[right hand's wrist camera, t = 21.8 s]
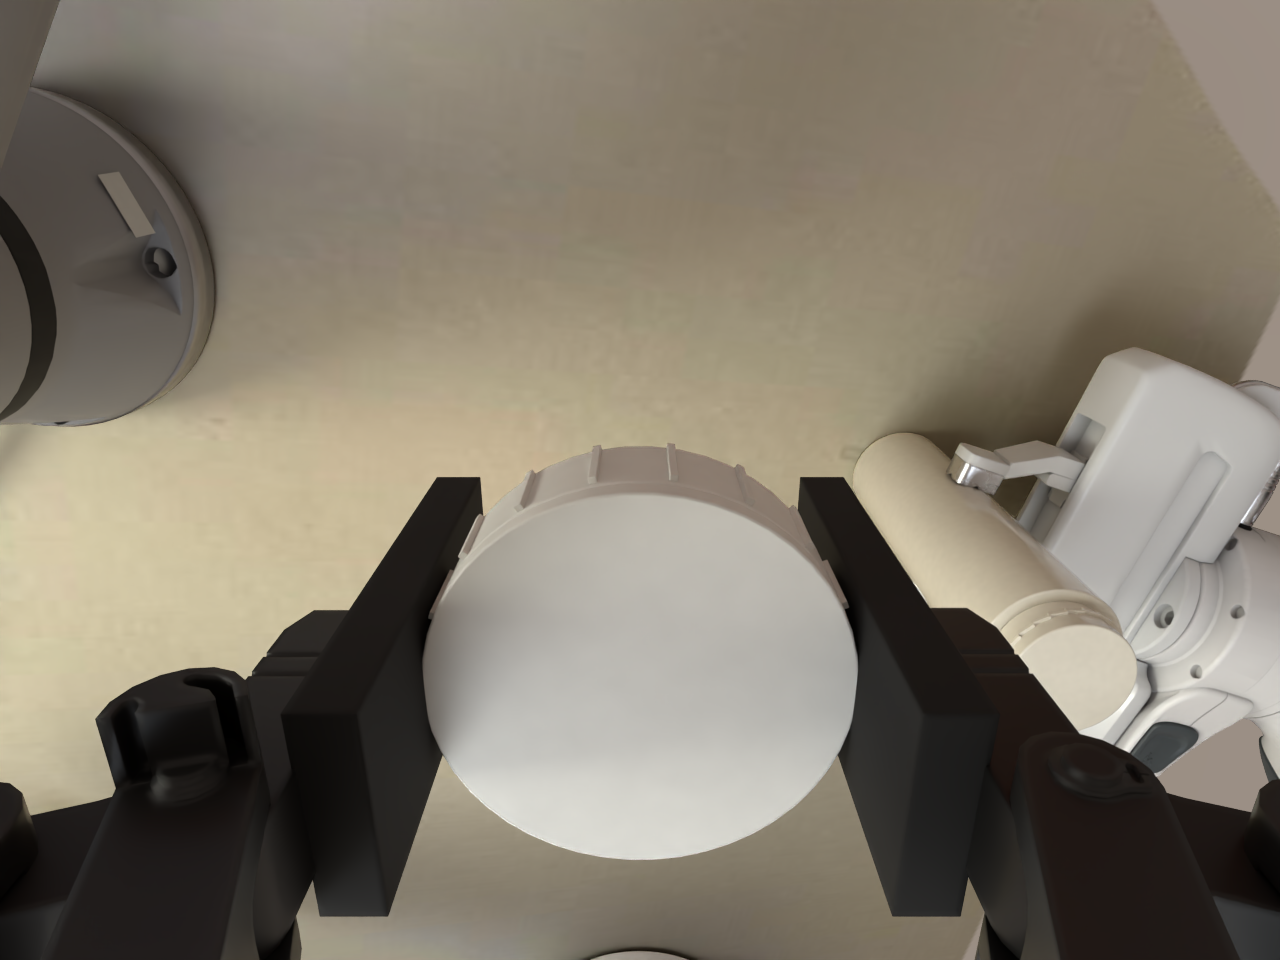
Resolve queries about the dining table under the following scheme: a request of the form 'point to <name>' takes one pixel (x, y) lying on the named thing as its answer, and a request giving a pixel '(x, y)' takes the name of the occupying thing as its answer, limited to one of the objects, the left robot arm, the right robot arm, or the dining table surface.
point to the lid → (640, 656)
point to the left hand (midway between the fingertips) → (925, 524)
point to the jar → (996, 575)
